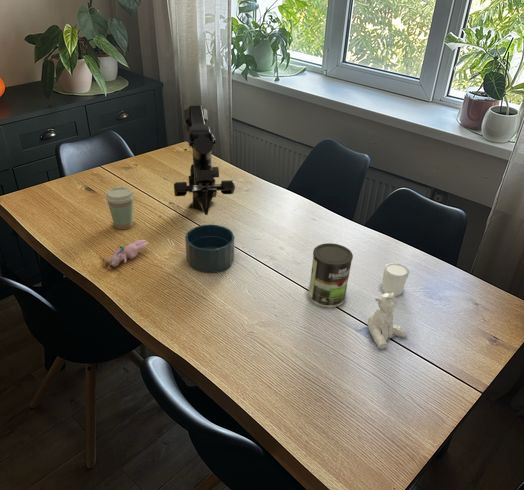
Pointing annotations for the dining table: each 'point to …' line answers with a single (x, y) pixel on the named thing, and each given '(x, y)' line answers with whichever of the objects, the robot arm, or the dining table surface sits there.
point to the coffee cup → (121, 206)
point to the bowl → (210, 248)
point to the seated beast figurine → (384, 321)
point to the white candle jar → (394, 278)
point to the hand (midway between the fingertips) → (206, 214)
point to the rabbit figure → (125, 253)
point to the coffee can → (329, 274)
